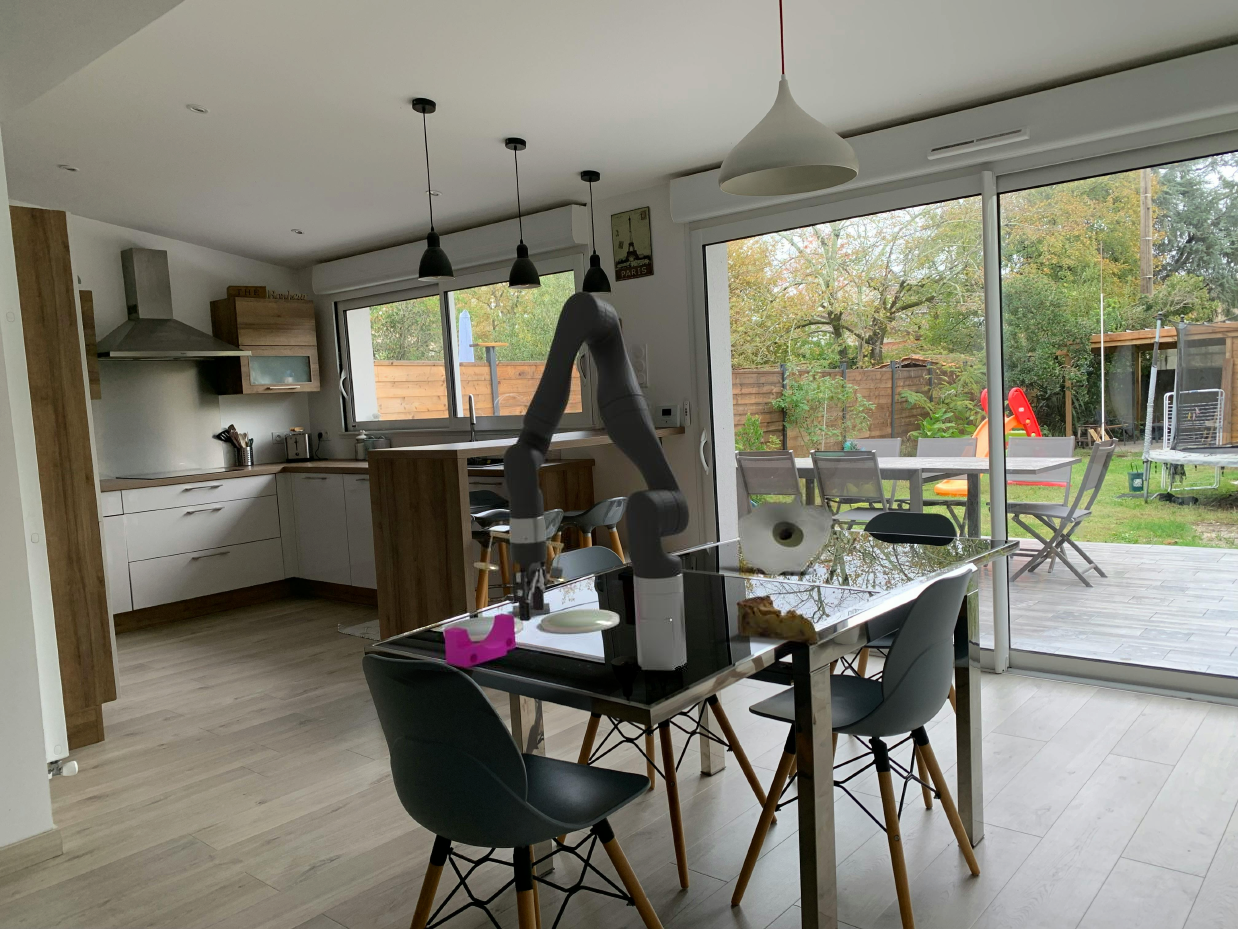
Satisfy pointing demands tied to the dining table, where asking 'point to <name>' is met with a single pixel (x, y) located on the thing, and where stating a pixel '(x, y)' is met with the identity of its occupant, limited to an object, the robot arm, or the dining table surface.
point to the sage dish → (579, 621)
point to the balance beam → (553, 576)
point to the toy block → (480, 643)
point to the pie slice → (773, 622)
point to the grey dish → (481, 627)
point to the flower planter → (783, 535)
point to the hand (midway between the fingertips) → (532, 615)
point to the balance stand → (544, 611)
